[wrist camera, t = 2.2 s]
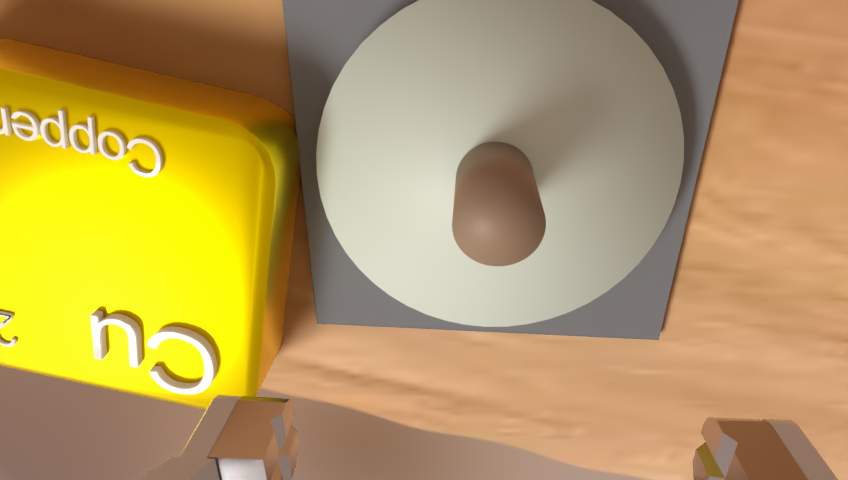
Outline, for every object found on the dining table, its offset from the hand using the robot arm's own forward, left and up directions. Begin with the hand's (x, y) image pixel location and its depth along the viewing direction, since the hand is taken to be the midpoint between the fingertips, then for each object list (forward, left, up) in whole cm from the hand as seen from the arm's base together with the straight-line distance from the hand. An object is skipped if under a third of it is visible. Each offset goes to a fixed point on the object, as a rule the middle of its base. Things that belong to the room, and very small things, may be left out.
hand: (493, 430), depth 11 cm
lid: (0, 0, -15) cm, 15 cm away
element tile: (+16, +3, -16) cm, 23 cm away
